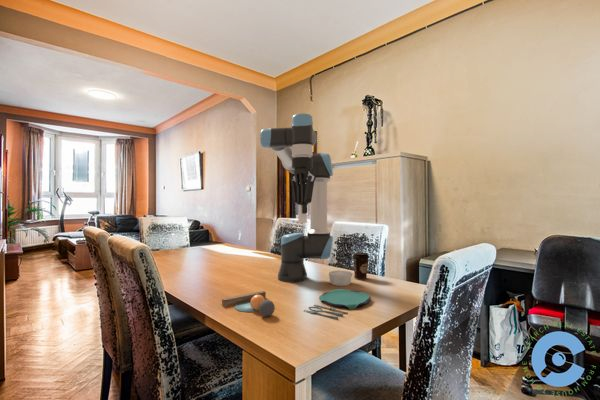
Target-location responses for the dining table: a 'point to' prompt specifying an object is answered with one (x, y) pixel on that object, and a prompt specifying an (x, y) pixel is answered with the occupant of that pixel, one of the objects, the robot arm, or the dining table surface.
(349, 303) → the cutlery set
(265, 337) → the dining table surface
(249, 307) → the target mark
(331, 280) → the ramekin
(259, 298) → the orange ball
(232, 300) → the stopper strip
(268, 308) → the gray ball
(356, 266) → the coffee cup
